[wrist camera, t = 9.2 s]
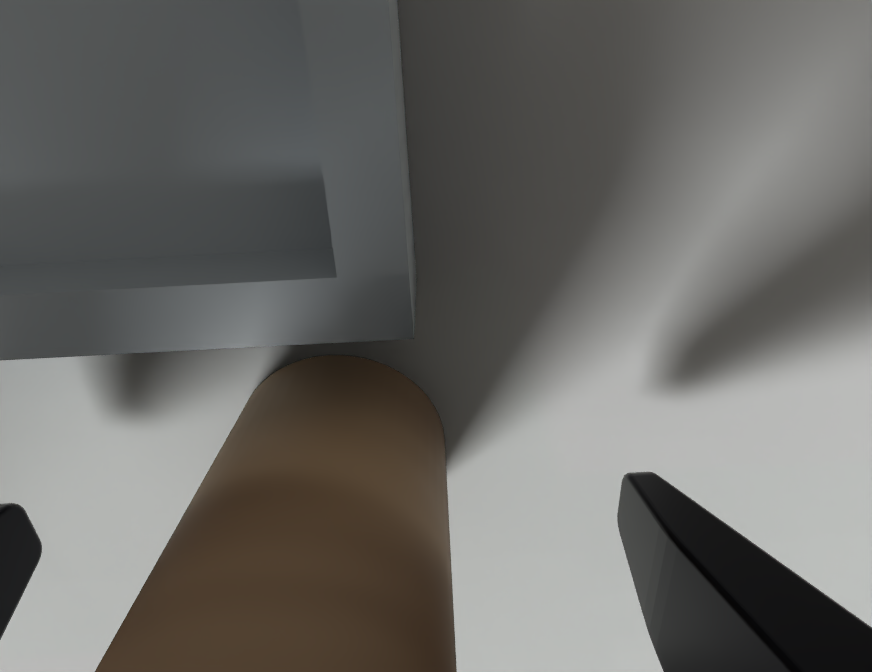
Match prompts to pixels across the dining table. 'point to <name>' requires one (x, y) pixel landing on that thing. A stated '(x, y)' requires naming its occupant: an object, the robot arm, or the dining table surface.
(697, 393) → the dining table surface
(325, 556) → the dowel
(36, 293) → the tray
